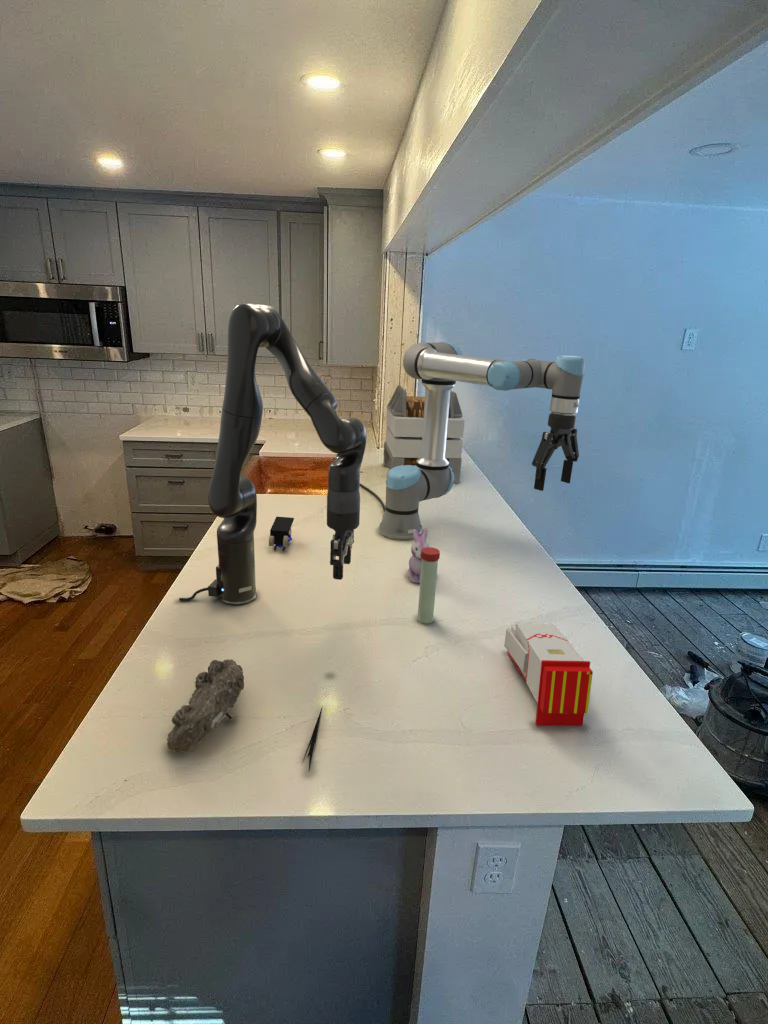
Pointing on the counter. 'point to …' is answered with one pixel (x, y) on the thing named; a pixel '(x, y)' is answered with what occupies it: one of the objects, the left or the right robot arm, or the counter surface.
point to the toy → (551, 672)
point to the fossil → (206, 705)
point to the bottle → (427, 591)
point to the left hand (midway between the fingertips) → (342, 570)
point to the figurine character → (281, 532)
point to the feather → (313, 740)
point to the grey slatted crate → (419, 431)
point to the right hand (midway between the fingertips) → (552, 485)
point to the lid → (430, 554)
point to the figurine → (417, 555)
